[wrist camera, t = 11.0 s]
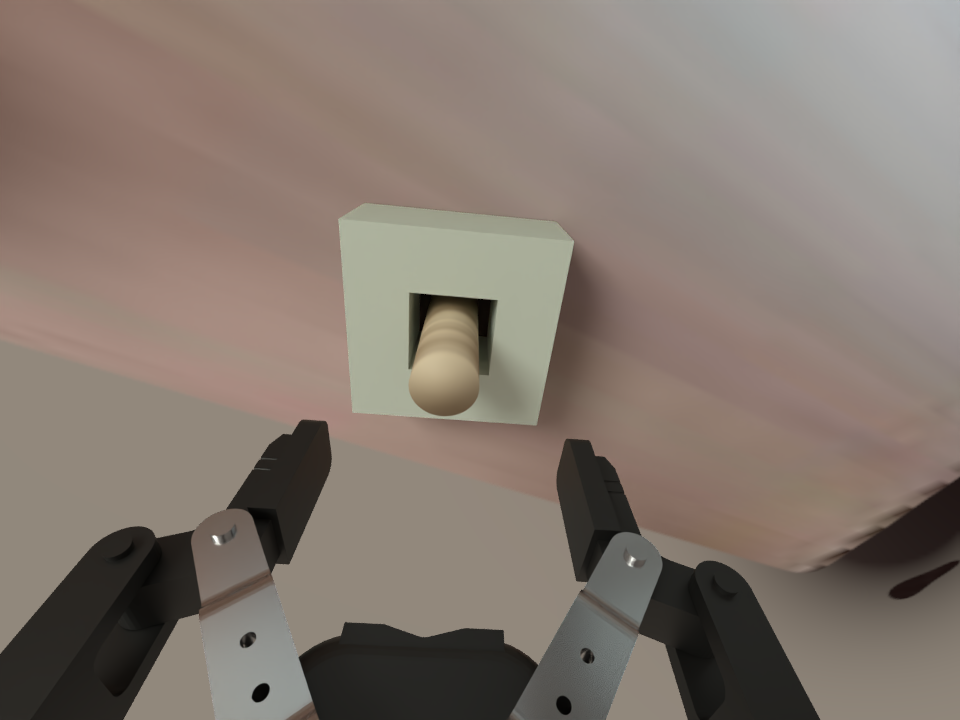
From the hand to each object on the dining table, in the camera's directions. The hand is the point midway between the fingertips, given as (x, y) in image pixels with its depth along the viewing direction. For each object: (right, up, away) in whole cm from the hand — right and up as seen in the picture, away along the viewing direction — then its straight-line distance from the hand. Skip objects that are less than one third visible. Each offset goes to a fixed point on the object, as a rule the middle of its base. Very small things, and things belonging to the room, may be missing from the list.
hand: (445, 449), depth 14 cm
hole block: (0, +7, +12) cm, 14 cm away
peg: (-1, +7, +12) cm, 14 cm away
